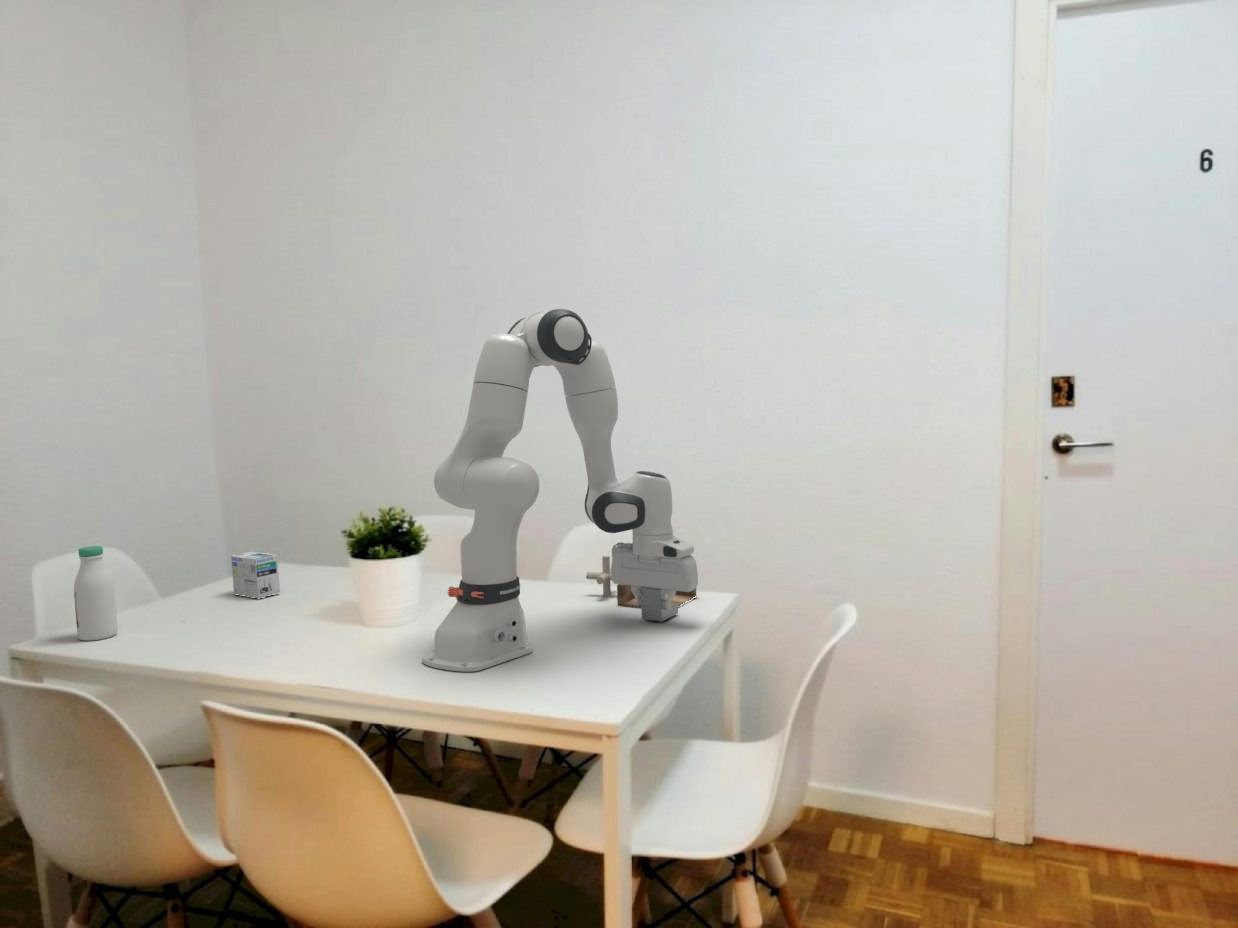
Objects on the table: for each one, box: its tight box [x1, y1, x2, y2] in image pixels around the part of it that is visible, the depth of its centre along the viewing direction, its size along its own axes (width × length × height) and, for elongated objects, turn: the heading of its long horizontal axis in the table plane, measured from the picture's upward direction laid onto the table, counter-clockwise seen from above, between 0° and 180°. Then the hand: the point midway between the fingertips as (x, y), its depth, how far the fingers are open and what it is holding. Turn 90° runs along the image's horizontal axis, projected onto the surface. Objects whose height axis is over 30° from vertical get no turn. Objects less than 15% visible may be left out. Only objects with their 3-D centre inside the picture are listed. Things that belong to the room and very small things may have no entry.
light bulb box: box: [230, 551, 281, 598], centre depth 234 cm, size 11×7×11 cm, turn 58°
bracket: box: [640, 587, 679, 622], centre depth 201 cm, size 8×5×7 cm, turn 150°
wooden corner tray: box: [616, 584, 697, 609], centre depth 216 cm, size 14×14×5 cm
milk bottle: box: [73, 545, 119, 642], centre depth 199 cm, size 8×8×20 cm
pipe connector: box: [585, 555, 612, 598], centre depth 223 cm, size 10×10×10 cm
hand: (653, 607), depth 199 cm, fingers closed on bracket, 5 cm apart
